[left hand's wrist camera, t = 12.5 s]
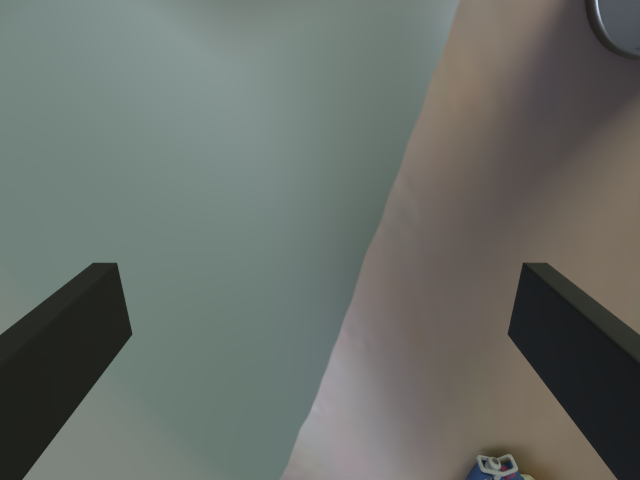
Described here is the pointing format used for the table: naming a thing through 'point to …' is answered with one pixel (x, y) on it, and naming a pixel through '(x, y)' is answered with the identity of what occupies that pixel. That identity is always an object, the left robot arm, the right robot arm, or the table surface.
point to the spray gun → (496, 469)
